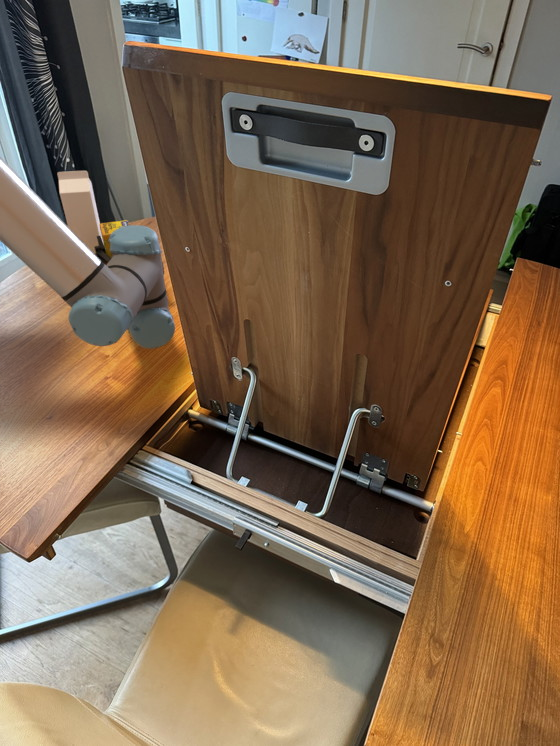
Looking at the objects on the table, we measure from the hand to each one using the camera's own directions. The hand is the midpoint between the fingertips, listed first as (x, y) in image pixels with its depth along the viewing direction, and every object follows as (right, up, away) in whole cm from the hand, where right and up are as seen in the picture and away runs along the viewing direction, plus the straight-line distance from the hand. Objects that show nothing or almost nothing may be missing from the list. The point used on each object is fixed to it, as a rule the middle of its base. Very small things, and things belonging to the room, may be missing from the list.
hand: (115, 239), depth 113 cm
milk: (-7, -5, +7) cm, 11 cm away
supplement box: (+2, -8, 0) cm, 8 cm away
